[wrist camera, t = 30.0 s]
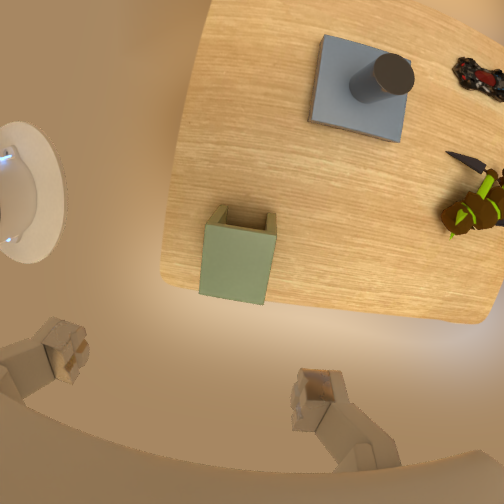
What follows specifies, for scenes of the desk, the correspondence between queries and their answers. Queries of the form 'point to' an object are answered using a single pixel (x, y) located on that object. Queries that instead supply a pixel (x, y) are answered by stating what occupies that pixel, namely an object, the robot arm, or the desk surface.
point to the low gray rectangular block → (341, 100)
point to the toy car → (480, 78)
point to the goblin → (476, 202)
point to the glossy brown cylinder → (382, 79)
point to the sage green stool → (236, 259)
